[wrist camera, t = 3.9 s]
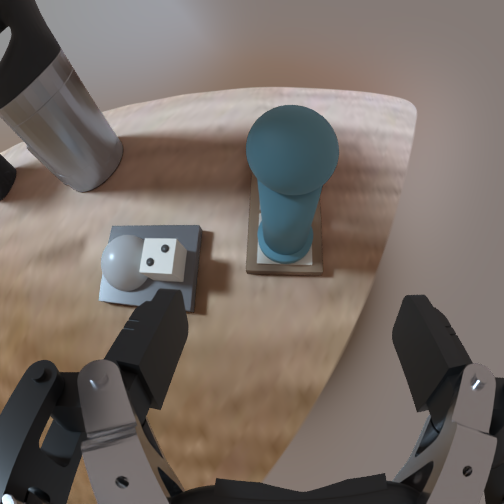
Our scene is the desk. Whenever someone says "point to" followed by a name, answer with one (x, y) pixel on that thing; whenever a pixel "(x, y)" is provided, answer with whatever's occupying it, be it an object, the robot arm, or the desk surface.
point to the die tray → (150, 263)
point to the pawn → (290, 176)
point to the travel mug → (6, 176)
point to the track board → (264, 265)
